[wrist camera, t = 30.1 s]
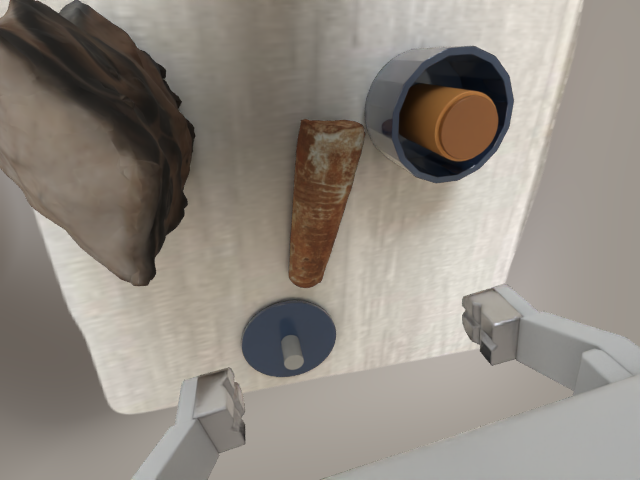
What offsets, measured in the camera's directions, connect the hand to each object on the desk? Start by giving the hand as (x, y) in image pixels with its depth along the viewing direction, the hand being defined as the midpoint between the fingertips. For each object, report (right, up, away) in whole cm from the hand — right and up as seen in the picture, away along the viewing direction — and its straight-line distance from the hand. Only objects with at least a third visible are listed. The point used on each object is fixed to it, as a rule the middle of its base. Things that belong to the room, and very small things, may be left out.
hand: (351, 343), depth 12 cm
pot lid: (-5, -9, +35) cm, 37 cm away
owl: (-19, +15, +21) cm, 32 cm away
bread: (-1, +8, +28) cm, 29 cm away
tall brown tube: (+9, +17, +26) cm, 32 cm away
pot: (+9, +17, +26) cm, 32 cm away
